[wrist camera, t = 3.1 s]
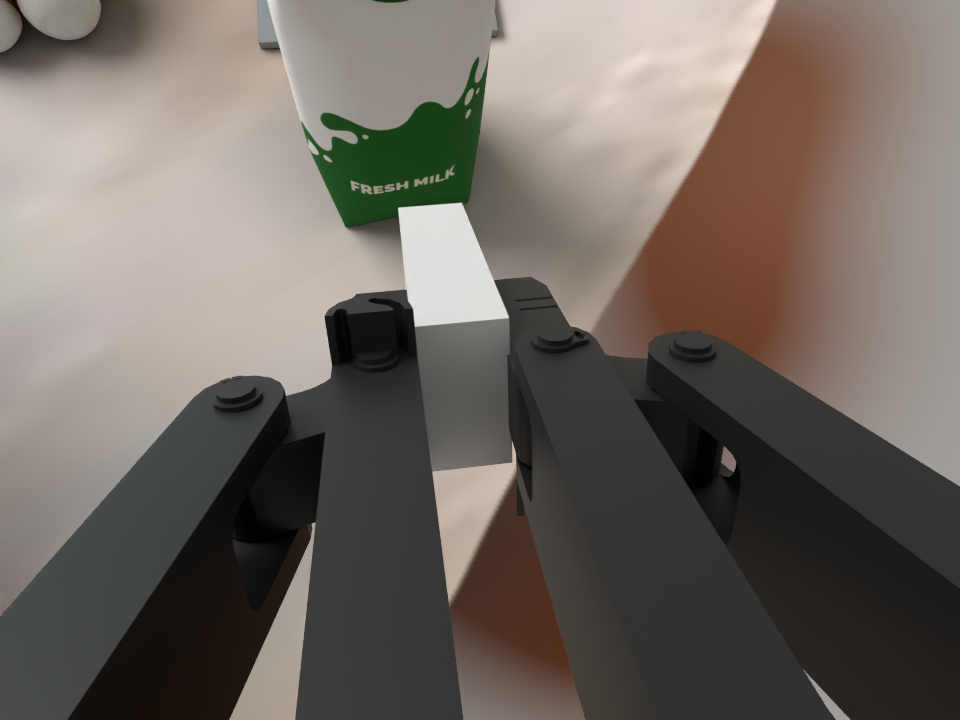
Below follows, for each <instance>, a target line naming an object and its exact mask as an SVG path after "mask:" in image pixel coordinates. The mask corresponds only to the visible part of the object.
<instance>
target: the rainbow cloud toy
mask: <svg viewBox="0 0 960 720" xmlns="http://www.w3.org/2000/svg"><path fill="white" fill-rule="evenodd" d="M17 3H18V6H19V8H20V10H21V12H22V14H23V15H24V16H25V18H26V19H27V20H28V21H29V22H30V23H31V24H32V25H33V26H34V27H35V28H36V29H38V30H39V31H41V32H42V33H44V34H46V35H48V36H50V37H53V38H57V39H62V40H75V39H79V38H82V37H84V36H86V35H88V34H89V33H90V32H92V31H93V29H94V28H95V27H96V25H97V23H98V21H99V18H100V14H101V4H100V0H17ZM21 30H22V20H21V16H20V14H19V13H18V11H17V10H16V9H15V7H14V6H13V5H12V4H11V0H0V53H1V52H4V51H6V50H8V49H9V48H11V47H12V46H13V45H14V44H15V43H16V42H17V40H18V38H19V36H20V34H21Z"/></svg>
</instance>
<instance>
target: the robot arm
mask: <svg viewBox="0 0 960 720" xmlns="http://www.w3.org/2000/svg"><path fill="white" fill-rule="evenodd" d="M398 212H399V223H400V233H401V244H402V254H403V264H404V275H405V285H406V290H398V291H386V292H375V293H363V294H356V295H355V296H354V297H353V298H352V299H349V300H346V301H343V302H340V303H338V304H336V305H335V306H333V307H332V308H330V309H329V310H328V311H327V313H326V315H325V316H324V317H325V323H326V329H327V335H328V342H329V348H330V354H331V361H332V372H331V378H330V379H329V380H327V381H326V382H325V383H323V384H321V385H319V386H317V387H315V388H312V389H309V390H306V391H303V392H300V393H296V394H292V395H289V396H286V395H285V390H284V388H283V386H282V385H281V383H280V382H278V381H276V380H274V379H272V378H269V377H262V376H245V377H244V376H236V377H232V379H230V378H228V379H224V380H221V381H220V382H218V383H216V384H214V385H212V386H210V387H208V388H205V389H204V390H203V391H201V392H200V393H199V394H198V395H196V396H195V397H194V398H193V399H192V400H191V401H190V403H189V404H188V405H187V406H186V407H185V408H184V409H183V410H182V412H181V413H180V414H179V415H178V416H177V417H176V418H175V420H174V421H173V422H172V423H171V424H170V425H169V426H168V427H167V429H166V430H165V431H164V432H163V433H162V434H161V435H160V437H159V438H158V439H157V440H156V441H155V442H154V443H153V444H152V446H151V447H150V448H149V449H148V450H147V451H146V452H145V454H144V455H143V456H142V457H141V458H140V459H139V460H138V461H137V463H136V464H135V465H134V466H133V467H132V468H131V469H130V471H129V472H128V473H127V474H126V475H125V476H124V477H123V478H122V480H121V481H120V482H119V483H118V484H117V485H116V486H115V488H114V489H113V490H112V491H111V492H110V493H109V494H108V495H107V497H106V498H105V499H104V500H103V501H102V502H101V503H100V504H99V506H98V507H97V508H96V509H95V510H94V511H93V512H92V514H91V515H90V516H89V517H88V518H87V519H86V520H85V521H84V523H83V524H82V525H81V526H80V527H79V528H78V529H77V531H76V532H75V533H74V534H73V535H72V536H71V537H70V538H69V540H68V541H67V542H66V543H65V544H64V545H63V546H62V548H61V549H60V550H59V551H58V552H57V553H56V554H55V555H54V557H53V558H52V559H51V560H50V561H49V562H48V563H47V565H46V566H45V567H44V568H43V569H42V570H41V571H40V572H39V574H38V575H37V576H36V577H35V578H34V579H33V580H32V581H31V583H30V584H29V585H28V586H27V587H26V588H25V589H24V591H23V592H22V593H21V594H20V595H19V596H18V597H17V598H16V600H15V601H14V602H13V603H12V604H11V605H10V606H9V608H8V609H7V610H6V611H5V612H4V613H3V614H2V615H1V617H0V720H229V719H230V717H231V715H232V712H233V710H234V708H235V706H236V703H237V701H238V699H239V697H240V695H241V692H242V690H243V688H244V686H245V683H246V681H247V679H248V677H249V675H250V672H251V670H252V668H253V666H254V664H255V661H256V659H257V657H258V655H259V652H260V650H261V648H262V646H263V644H264V641H265V639H266V637H267V635H268V632H269V630H270V628H271V626H272V624H273V621H274V619H275V617H276V615H277V612H278V610H279V608H280V606H281V604H282V601H283V599H284V597H285V595H286V593H287V590H288V588H289V586H290V584H291V581H292V579H293V577H294V575H295V573H296V570H297V568H298V566H299V564H300V561H301V559H302V557H303V555H304V553H305V550H306V548H307V546H308V544H309V541H310V539H311V533H312V525H311V524H312V523H315V522H316V525H315V535H314V545H313V554H312V564H311V573H310V583H309V593H308V602H307V612H306V622H305V631H304V641H303V650H302V660H301V670H300V679H299V689H298V698H297V708H296V718H295V720H463V714H462V706H461V698H460V690H459V682H458V674H457V666H456V658H455V650H454V642H453V634H452V626H451V619H450V610H449V602H448V594H447V586H446V579H445V571H444V563H443V555H442V547H441V539H440V531H439V523H438V515H437V507H436V499H435V491H434V483H433V475H432V471H441V470H449V469H458V468H467V467H476V466H485V465H494V464H502V463H511V462H512V441H513V445H514V448H515V451H516V468H517V516H521V515H524V507H525V510H526V514H527V517H528V521H529V524H530V528H531V531H532V535H533V538H534V542H535V545H536V549H537V552H538V556H539V559H540V563H541V566H542V570H543V573H544V577H545V580H546V583H547V587H548V591H549V594H550V597H551V601H552V605H553V608H554V612H555V615H556V618H557V622H558V625H559V629H560V632H561V636H562V639H563V643H564V646H565V650H566V653H567V656H568V660H569V664H570V667H571V671H572V674H573V678H574V681H575V685H576V688H577V692H578V695H579V699H580V702H581V706H582V709H583V712H584V716H585V719H586V720H835V718H834V717H833V715H832V714H831V713H830V712H829V710H828V709H827V707H826V706H825V704H824V702H823V701H822V699H821V698H820V696H819V694H818V693H817V691H816V690H815V688H814V687H813V685H812V683H811V682H810V680H809V678H808V677H807V675H806V674H805V672H806V673H807V674H809V676H810V677H811V678H812V679H813V680H814V681H815V682H816V683H817V684H818V685H819V686H820V687H821V689H822V690H823V691H824V692H825V693H826V694H827V695H828V696H829V697H830V698H831V699H832V700H833V701H834V702H835V703H836V705H837V706H838V707H839V708H840V709H841V710H842V711H843V712H844V713H845V714H846V715H847V716H848V717H849V718H850V720H960V486H958V485H956V484H954V483H953V482H952V481H950V480H948V479H947V478H945V477H943V476H942V475H940V474H939V473H937V472H935V471H933V470H932V469H931V468H929V467H927V466H926V465H924V464H923V463H921V462H919V461H918V460H916V459H915V458H913V457H911V456H910V455H908V454H907V453H905V452H903V451H902V450H900V449H899V448H897V447H895V446H893V445H892V444H890V443H888V442H887V441H885V440H884V439H882V438H881V437H879V436H877V435H876V434H874V433H873V432H871V431H870V430H868V429H866V428H865V427H863V426H862V425H860V424H858V423H857V422H855V421H854V420H852V419H850V418H849V417H847V416H845V415H844V414H842V413H841V412H839V411H837V410H836V409H834V408H832V407H831V406H829V405H828V404H826V403H825V402H823V401H821V400H820V399H818V398H816V397H815V396H813V395H812V394H810V393H809V392H807V391H805V390H803V389H802V388H800V387H799V386H797V385H796V384H794V383H793V382H791V381H789V380H788V379H786V378H785V377H783V376H781V375H780V374H778V373H776V372H775V371H773V370H772V369H770V368H768V367H767V366H765V365H763V364H762V363H760V362H759V361H757V360H756V359H754V358H752V357H751V356H749V355H748V354H746V353H744V352H743V351H741V350H740V349H738V348H736V347H735V346H733V345H732V344H730V343H728V342H726V341H724V340H722V339H720V338H717V337H715V336H712V335H707V334H703V333H701V332H699V331H691V332H689V331H678V332H674V333H666V334H664V335H661V336H658V337H655V338H654V339H653V340H652V341H651V342H650V343H649V346H648V358H647V359H639V358H623V357H616V356H609V355H605V353H604V352H603V350H602V348H601V347H600V345H599V344H598V342H597V340H596V339H595V338H594V337H593V336H592V335H591V334H590V333H588V332H586V331H584V330H581V329H579V328H575V327H570V325H569V324H568V322H567V320H566V319H565V317H564V315H563V313H562V312H561V310H560V308H559V307H558V305H557V303H556V301H555V300H554V299H553V296H552V294H551V293H550V291H549V289H548V288H547V286H546V285H544V284H543V283H541V282H539V281H537V280H535V279H534V278H532V277H525V278H514V279H502V280H493V277H492V275H491V273H490V270H489V268H488V265H487V263H486V260H485V258H484V256H483V253H482V251H481V248H480V246H479V243H478V241H477V239H476V236H475V234H474V231H473V229H472V226H471V224H470V222H469V219H468V217H467V214H466V212H465V209H464V207H463V205H462V203H453V204H440V205H427V206H414V207H400V208H398ZM724 446H725V447H726V448H727V449H728V450H729V451H730V452H731V453H732V455H733V456H734V458H735V460H736V468H735V471H734V472H732V471H731V470H729V469H728V468H727V467H726V466H724V465H723V464H722V463H721V460H722V453H723V447H724ZM802 668H803V669H804V670H805V672H804V670H803V669H802Z"/></svg>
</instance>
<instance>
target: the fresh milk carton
mask: <svg viewBox="0 0 960 720" xmlns="http://www.w3.org/2000/svg"><path fill="white" fill-rule="evenodd" d="M267 2H268V6H269V10H270V14H271V18H272V21H273V25H274V28H275V32H276V36H277V39H278V43H279V46H280V50H281V53H282V57H283V61H284V64H285V68H286V71H287V75H288V78H289V82H290V85H291V89H292V93H293V96H294V100H295V103H296V107H297V110H298V114H299V117H300V120H301V123H302V127H303V130H304V133H305V136H306V139H307V142H308V145H309V148H310V151H311V154H312V156H313V158H314V160H315V163H316V165H317V167H318V169H319V171H320V173H321V175H322V178H323V180H324V182H325V184H326V186H327V188H328V190H329V193H330V195H331V197H332V199H333V201H334V203H335V205H336V207H337V210H338V212H339V214H340V216H341V218H342V220H343V222H344V225H345V227H349V226H354V225H359V224H364V223H369V222H374V221H379V220H383V219H388V218H393V217H398V216H399V212H398V208H400V207H414V206H427V205H440V204H453V203H467V202H469V195H470V189H471V183H472V176H473V170H474V164H475V158H476V152H477V146H478V140H479V133H480V125H481V117H482V109H483V101H484V93H485V84H486V76H487V68H488V59H489V51H490V43H491V34H492V26H493V17H494V9H495V0H267Z"/></svg>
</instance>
